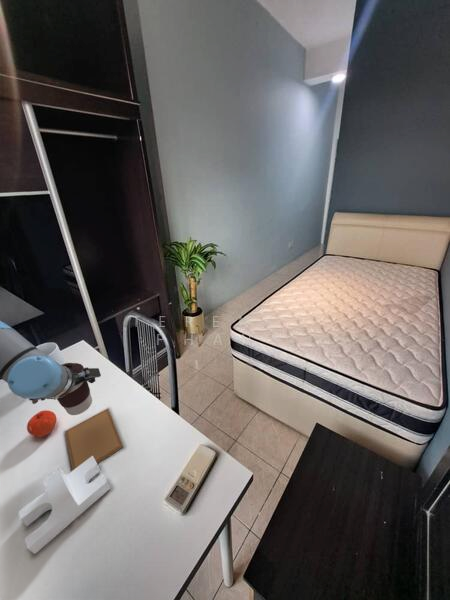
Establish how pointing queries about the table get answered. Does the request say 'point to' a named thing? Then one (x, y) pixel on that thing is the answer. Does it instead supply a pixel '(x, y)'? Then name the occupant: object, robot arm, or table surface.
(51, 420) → the apple
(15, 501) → the table surface
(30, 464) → the table surface
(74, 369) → the coffee cup
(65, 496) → the block with arch cutout
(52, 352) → the mug
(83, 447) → the placemat
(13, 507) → the table surface
